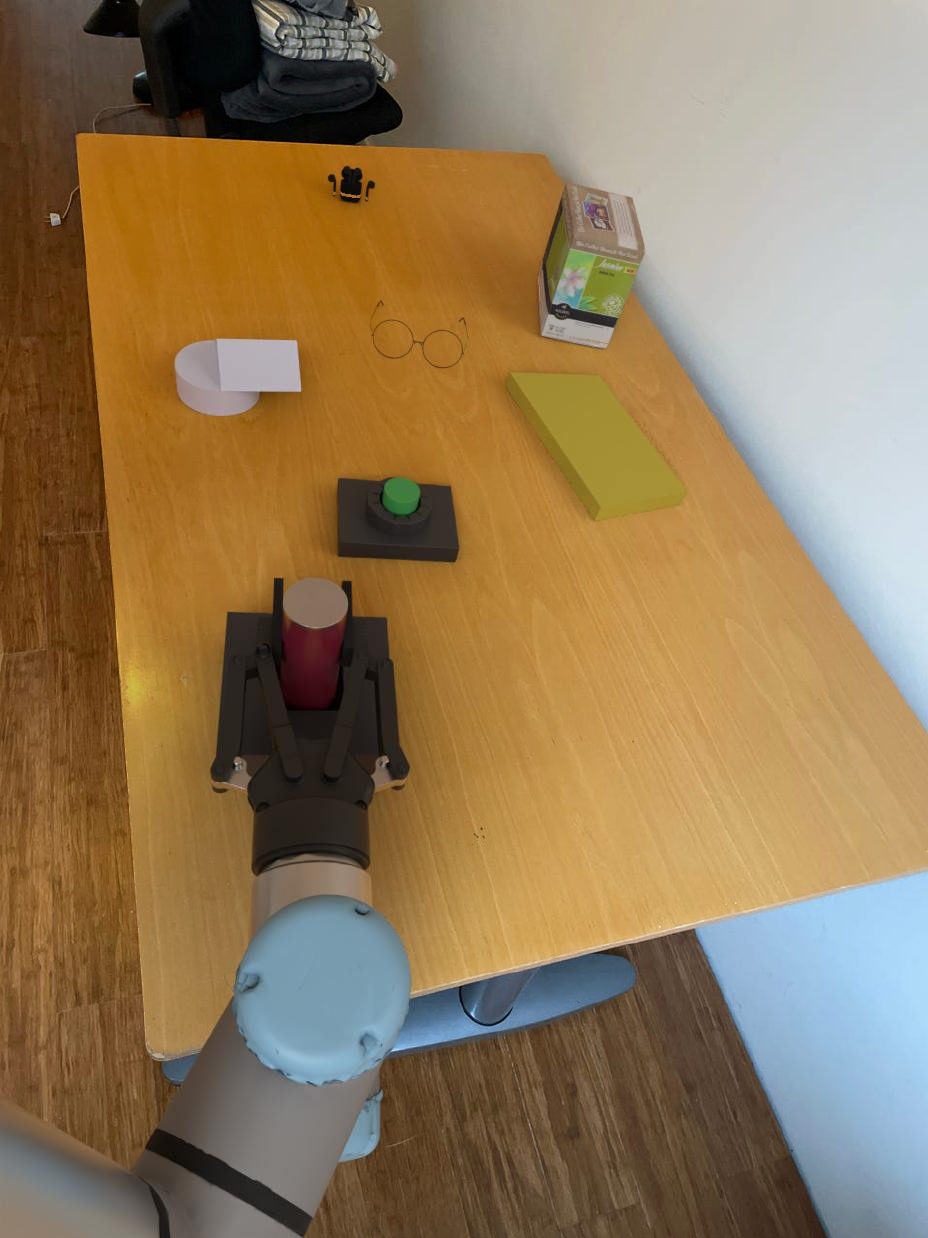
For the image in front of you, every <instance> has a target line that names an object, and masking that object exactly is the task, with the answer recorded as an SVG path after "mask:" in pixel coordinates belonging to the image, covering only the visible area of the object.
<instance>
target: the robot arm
mask: <svg viewBox="0 0 928 1238" xmlns="http://www.w3.org/2000/svg"><path fill="white" fill-rule="evenodd" d="M284 584H285V578H284V577H273V595H272V596H273V597H272V601H273V602H272V613H273V617H259V619H258V621H257V629H256V646H255V650H254V652H253V653H251V654H249V655H246V656H243V655H240V654H236V655H233V656H231V657H230V659H229V666H228V678H227V690H226V702H225V713H224V725H223V737H222V746H221V748H220V750H219V752H218V754H217V756H216V755H215V758H214V759H213V762H212V764H211V766H210V768H209V773H210V781H211V782H210V783H211V788H212V791H213V792H215V793H216V794H225V793H226V792H228V791H231V792H233V793H237V794H240V795H243V796H246V798H247V802H248V804H249V806H250V807H251V810H252V812H253V821H252V840H251V841H252V843H251V846H252V847H251V861H250V862H251V865H250V866H251V867H250V869H251V872H252V874H253V875H254V876H255V878H254V879H253V880H252V881H251V883H250V885H249V886H250V887H249V888H250V889H249V906H248V907H249V908H248V909H249V910H248V926H247V927H248V928H247V931H248V932H247V946H246V949H245V951H244V954H243V956H242V959H241V960H240V962H239V964H238V966H237V968H236V971H235V981H234V983H233V987H232V988H233V989H232V990H233V991H232V992H233V995H232V996H231V998H230V999H229V1001H228V1003H227V1005H226V1007H225V1008H224V1010H223V1012H222V1013H221V1015H220V1017H219V1019H218V1020H217V1022H216V1024H215V1026H214V1027H213V1029H212V1031H211V1033H210V1034H209V1036H208V1038H207V1039H206V1041H205V1042H204V1044H203V1046H202V1048H201V1049H200V1051H199V1053H198V1055H197V1056H196V1058H195V1060H194V1061H193V1063H192V1065H191V1067H190V1068H189V1070H188V1072H187V1074H186V1075H185V1076H184V1079H183V1080H182V1082H181V1084H180V1085H179V1088H177V1091H176V1092H175V1094H174V1096H173V1098H172V1100H171V1101H170V1103H169V1104H168V1106H167V1108H166V1110H165V1111H164V1113H163V1115H162V1117H161V1118H160V1120H159V1122H158V1124H157V1125H156V1127H155V1128H154V1130H153V1132H152V1133H151V1135H150V1137H149V1139H148V1140H147V1141H146V1144H145V1146H144V1149H143V1150H142V1152H141V1153H140V1154H139V1157H138V1159H137V1160H136V1161H135V1163H134V1165H133V1166H132V1168H131V1170H130V1169H128V1168H127V1167H125V1166H124V1165H122V1164H120V1163H119V1162H117V1161H116V1160H113V1159H112V1158H110V1157H108V1156H106V1155H104V1154H103V1153H101V1152H99V1151H98V1150H96V1149H94V1148H92V1147H91V1146H89V1145H88V1144H85V1143H84V1142H82V1141H80V1140H79V1139H77V1138H75V1137H74V1136H71V1135H70V1134H69V1133H66V1132H65V1131H63V1130H61V1129H60V1128H58V1127H56V1126H54V1125H53V1124H51V1123H50V1122H48V1121H46V1120H44V1119H43V1118H40V1117H39V1116H37V1115H35V1114H34V1113H32V1112H30V1111H29V1110H27V1109H25V1108H23V1107H21V1106H20V1105H18V1104H16V1103H15V1102H14V1101H11V1100H10V1099H8V1098H7V1097H4V1096H3V1095H1V1094H0V1238H305V1236H306V1234H307V1232H308V1230H309V1228H310V1225H311V1223H312V1221H313V1220H314V1218H315V1215H316V1213H317V1211H318V1209H319V1206H320V1204H321V1202H322V1200H323V1198H324V1195H325V1193H326V1191H327V1189H328V1187H329V1184H330V1182H331V1180H332V1177H333V1175H334V1173H335V1171H336V1168H337V1166H338V1164H339V1163H343V1162H348V1161H352V1160H357V1159H361V1158H363V1157H365V1156H368V1155H370V1154H371V1153H372V1152H373V1151H374V1150H375V1149H376V1147H377V1145H378V1143H379V1141H380V1137H381V1101H382V1099H383V1097H384V1092H383V1086H382V1085H381V1080H380V1079H381V1078H380V1069H381V1066H382V1065H383V1063H384V1061H385V1058H387V1057H388V1055H390V1053H392V1051H393V1050H394V1048H395V1046H396V1043H397V1040H398V1038H399V1035H400V1033H401V1030H402V1028H403V1027H404V1024H405V1023H406V1022H407V1020H408V1015H409V1010H410V1005H409V1003H410V999H411V992H412V970H411V964H410V963H411V962H410V959H409V954H408V952H407V949H406V947H405V944H404V943H403V939H402V938H401V936H400V934H399V933H398V931H397V929H396V928H395V927H394V925H393V924H392V923H391V922H390V921H389V920H388V919H387V918H386V917H385V915H383V914H382V913H381V912H380V911H379V910H377V909H376V908H374V907H373V890H372V889H373V888H372V886H373V885H372V877H371V875H370V874H369V873H368V872H367V870H368V869H369V867H370V866H371V840H370V820H369V819H370V818H369V816H370V815H369V807H370V805H371V803H372V802H373V799H374V795H375V794H376V793H379V792H382V791H385V790H387V789H391V790H392V791H397V792H398V791H402V790H403V789H404V788H405V786H406V783H407V780H408V777H409V774H410V770H411V766H410V762H409V761H408V759H407V756H406V755H405V753H404V750H403V748H402V746H401V745H400V744H401V743H400V732H399V718H398V717H399V716H398V706H397V704H398V703H397V692H396V679H395V667H394V661H393V660H392V659H391V657H390V658H388V657H382V658H380V659H379V658H376V657H373V656H372V655H371V654H370V653H369V651H368V636H367V624H366V622H365V620H359V619H353V616H354V611H353V589H352V587H353V581H352V580H341V586H340V588H341V589H342V590H343V591H344V592H345V594H346V596H347V599H348V610H347V617H346V624H345V632H344V639H343V646H342V653H341V667H350V670H349V673H348V677H347V681H346V685H345V689H344V693H343V697H342V701H341V705H340V709H339V708H338V711H339V712H338V716H337V720H336V724H335V726H334V730H333V734H332V738H323V739H319V740H315V741H311V740H306V739H302V738H294V734H293V730H292V726H291V724H290V722H289V719H288V715H287V711H286V710H287V708H286V707H285V703H284V699H283V695H282V691H281V687H280V681H279V680H278V676H277V672H276V668H275V666H281V656H282V615H283V598H284V589H285V588H284V586H285V585H284ZM253 678H256V679H257V683H258V687H259V691H260V696H261V700H262V704H263V708H264V712H265V717H266V721H267V725H268V729H269V733H270V738H271V742H272V748H273V754H272V755H271V756H270V757H269V758H268V759H267V761H266V762H265V763H264V764H263V765H262V766H261V768H260V769H259V770H258V771H257V772H256V773H255V775H254V776H253V777H251V776H249V775H248V773H247V763H246V761H245V760H244V759H243V758H241V753H242V739H243V724H244V709H245V694H246V680H249V679H253ZM365 679H368V680H371V681H374V688H375V705H376V722H377V739H378V755H379V758H378V759H377V760H376V762H375V766H374V773H373V774H372V775H369V773H368V772H367V771H366V770H365V769H364V768H363V766H362V765H361V764H360V763H359V762H358V760H357V759H356V758H355V757H354V756H353V755H352V753H351V752H350V751H349V750H348V748H349V743H350V739H351V735H352V731H353V727H354V723H355V718H356V714H357V710H358V706H359V702H360V698H361V693H362V689H363V685H364V681H365Z"/></svg>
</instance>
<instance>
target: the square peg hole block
mask: <svg viewBox="0 0 928 1238" xmlns="http://www.w3.org/2000/svg"><path fill="white" fill-rule="evenodd" d="M259 617H273V612H247V611H245V612H244V611H227V613H226V623H225V624H226V625H225V637H224V646H223V647H224V648H223V649H224V650H223V660H222V661H223V663H222V672H221V673H222V674H221V685H220V686H221V687H220V698H219V699H220V700H219V712H218V723H217V726H218V727H217V734H216V735H217V736H216V749H215V750H216V751H215V757H216V756H217V754H218V752H219V750H220V748H221V746H222V737H223V725H224V713H225V702H226V690H227V678H228V666H229V659H230V657H231V656H233V655H236V654H240V655H243V656H246V655H249V654H251V653H253V652H254V650H255V646H256V629H257V621H258V619H259ZM353 619H359V620H365V622H366V624H367V636H368V651H369V653H370V654H371V655H372V656H373V657H376V658H379V659H380V658H382V657H388V658H390V659H391V657H390V643H389V628H388V627H389V626H388V617H386V616H364V615H363V616H361V615H360V616H359V615H353ZM275 668H276V672H277V676H278V680H279V682H280V671H281V666H275ZM349 670H350V667H341V661H340V668H339V675H338V683H337V690H338V710H326V711H299V710H288V709H286V711H287V715H288V719H289V722H290V724H291V726H292V730H293V734H294V738H302V739H306V740H311V741H315V740H319V739H323V738H332V734H333V730H334V726H335V724H336V720H337V716H338V712H339V709H340V705H341V701H342V697H343V693H344V689H345V685H346V681H347V677H348V673H349ZM348 750H349V751H350V752H351V753H352V755H353V756H354V757H355V758H356V759H357V760H358V762H359V763H360V764H361V765H362V766H363V768H364V769H365V770H366V771H367V772H368V773H369V775H372V774H373V773H374V766H375V762H376V760H377V759H378V758H379V755H378V739H377V722H376V705H375V688H374V681H371V680H368V679H365V681H364V685H363V689H362V693H361V698H360V702H359V706H358V710H357V714H356V718H355V723H354V727H353V731H352V735H351V739H350V743H349V748H348ZM272 754H273V748H272V742H271V738H270V733H269V729H268V725H267V721H266V717H265V712H264V708H263V704H262V700H261V696H260V691H259V687H258V683H257V679H256V678H253V679H249V680H246V694H245V709H244V724H243V739H242V753H241V758H243V759H244V760H245V761H246V763H247V773H248V775H249V776H251V777H253V776H254V775H255V773H256V772H257V771H258V770H259V769H260V768H261V766H262V765H263V764H264V763H265V762H266V761H267V759H268V758H269V757H270V756H271V755H272Z"/></svg>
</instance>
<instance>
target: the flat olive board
mask: <svg viewBox="0 0 928 1238" xmlns="http://www.w3.org/2000/svg"><path fill="white" fill-rule="evenodd" d="M504 387H505V388H506V390H507V391H508V393H509V394H510V396H511V397H512V399H513V400H514V402H515V403H516V405H517V406H518V408H519V409H520V410H521V412H522V414H523V415H524V417H525V418H526V420H527V421H528V423H529V424H530V426H531V428H532V429H533V430H534V432H535V433H536V435H537V436H538V438H539V440H540V441H541V443H542V444H543V446H544V447H545V448H546V450H547V452H548V453H549V455H550V456H551V457H552V459H553V461H554V462H555V463H556V465H557V467H558V468H559V470H560V471H561V473H562V474H563V476H564V477H565V479H566V480H567V482H568V483H569V485H570V486H571V488H572V489H573V491H574V492H575V494H576V495H577V497H578V498H579V500H580V501H581V503H582V505H583V506H584V507H585V509H586V511H587V512H588V514H589V515H590V516H591V518H592V520H593V521H594V522H597V521H598V522H599V521H602V520H607V519H608V520H609V519H612V518H618V517H622V516H623V517H624V516H629V515H635V514H640V513H644V512H649V511H655V510H661V509H665V508H671V507H675V506H681V504H682V503H683V502H684V499H685V497H686V496H687V494H688V489H687V488H686V487H685V485H684V484H683V482H682V481H681V480H680V479H679V478H678V476H677V475H676V474H675V472H674V471H673V469H672V468H671V466H669V464H668V463H667V462H666V461H665V459H664V458H663V457H662V455H661V454H660V453H659V451H658V450H657V449H656V447H655V446H654V445H653V443H652V442H651V441H650V440H649V438H648V437H647V436H646V434H645V433H644V431H643V430H642V428H641V427H640V426H639V425H638V424H637V423H636V421H635V420H634V418H633V417H632V416H631V415H630V413H629V411H627V409H626V407H624V406H623V403H621V402H620V400H619V399H618V397H617V396H616V395H615V393H614V392H613V391H612V390H611V388H610V387H609V386H608V384H607V383H606V382H605V381H604V379H603V378H602V376H601V375H600V374H571V373H568V374H567V373H543V372H521V371H520V372H515V371H509V373H508V376H507V379H506V382H505V386H504Z"/></svg>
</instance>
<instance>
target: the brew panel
mask: <svg viewBox="0 0 928 1238" xmlns="http://www.w3.org/2000/svg"><path fill="white" fill-rule="evenodd" d="M392 478H396V477H393V476H389V477H386V478H384V479H383V478H382V479H380V480H373V479H361V478H359V479H358V478H346V477H345V478H344V477H338V478H337V485H336V492H335V493H336V494H335V495H336V531H337V532H336V533H337V557H339V558H356V559H357V558H359V559H377V560H379V559H380V560H400V561H417V562H418V561H420V562H437V563H439V562H440V563H456V562H457V559H458V555H459V552H460V543H459V542H460V541H459V534H458V528H457V527H458V526H457V521H456V513H455V506H454V505H455V504H454V499H453V498H454V497H453V492H452V485H443V484H429V483H419V482H416V481H414V480H412V481H413V482H415V483H416V484H417V485H418V487H419V489H420V496H419V501H418V506H417V508H416V510H415V511H414V512H412V513H410V514H407V515H397V514H394V513H392V512H390V511H388V510H387V509H386V508H385V507H384V505H383V503H382V497H383V492H384V486H385V484H386V482H387V481H388V480H390V479H392Z"/></svg>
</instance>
